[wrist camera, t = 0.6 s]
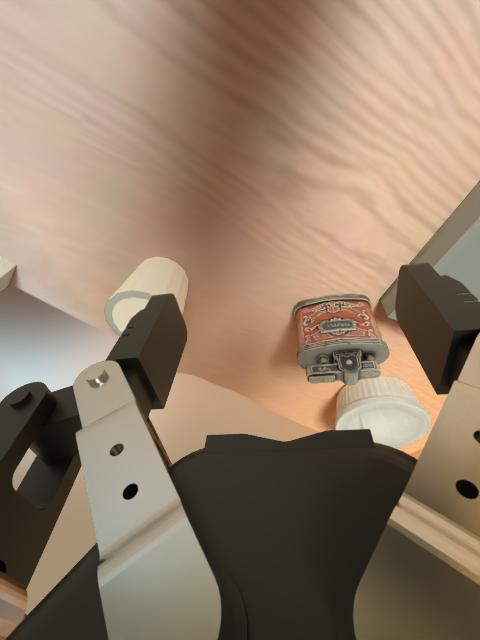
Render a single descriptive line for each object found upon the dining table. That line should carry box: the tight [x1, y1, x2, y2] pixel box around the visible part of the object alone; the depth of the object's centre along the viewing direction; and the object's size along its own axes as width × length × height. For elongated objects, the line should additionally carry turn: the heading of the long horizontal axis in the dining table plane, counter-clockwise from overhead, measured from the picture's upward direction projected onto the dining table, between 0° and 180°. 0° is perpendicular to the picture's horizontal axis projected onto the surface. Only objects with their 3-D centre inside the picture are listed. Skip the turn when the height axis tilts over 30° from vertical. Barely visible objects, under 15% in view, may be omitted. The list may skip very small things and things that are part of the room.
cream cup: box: [104, 257, 188, 337], centre depth 31 cm, size 7×7×7 cm
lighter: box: [294, 294, 389, 385], centre depth 30 cm, size 8×3×10 cm, turn 102°
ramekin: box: [334, 375, 431, 448], centre depth 41 cm, size 11×11×5 cm
